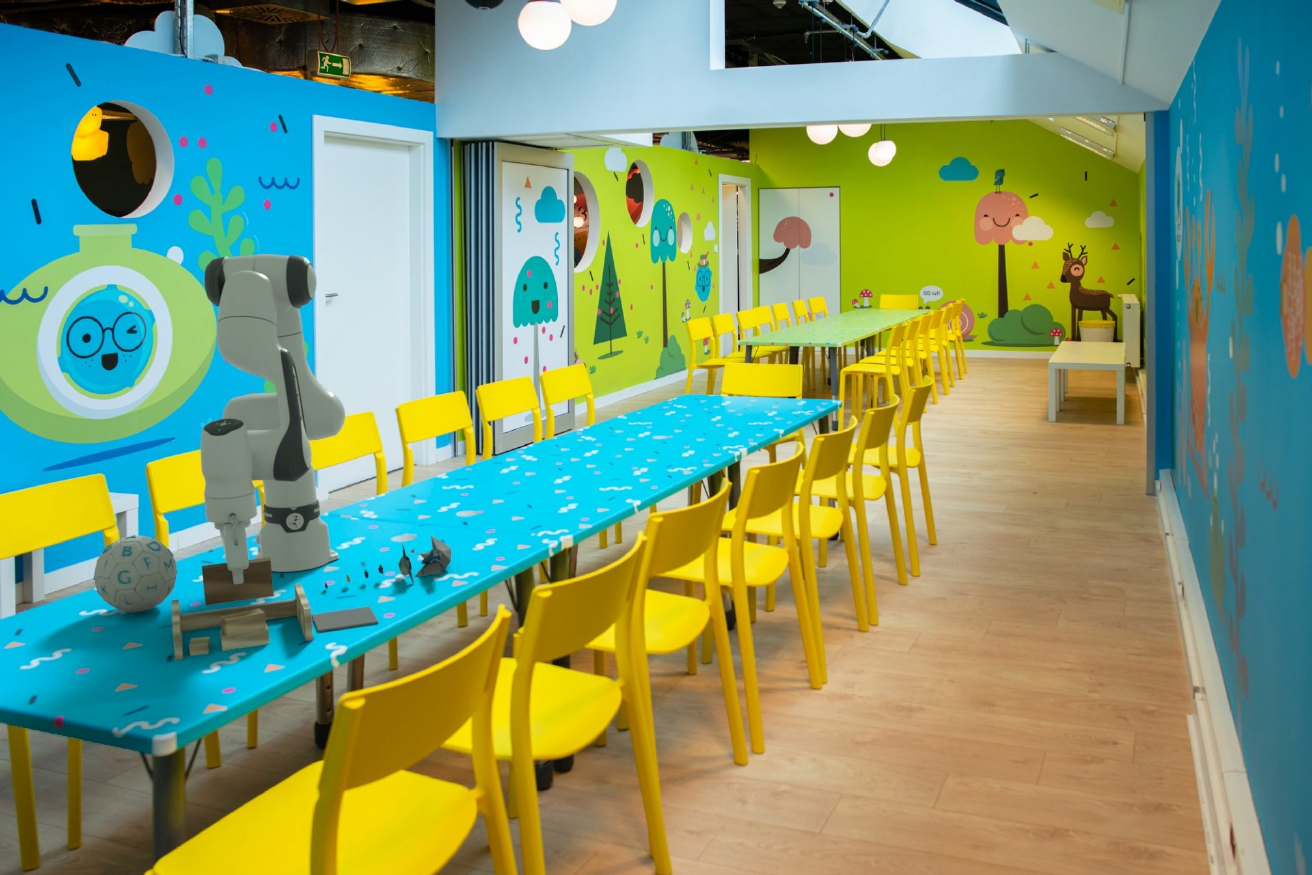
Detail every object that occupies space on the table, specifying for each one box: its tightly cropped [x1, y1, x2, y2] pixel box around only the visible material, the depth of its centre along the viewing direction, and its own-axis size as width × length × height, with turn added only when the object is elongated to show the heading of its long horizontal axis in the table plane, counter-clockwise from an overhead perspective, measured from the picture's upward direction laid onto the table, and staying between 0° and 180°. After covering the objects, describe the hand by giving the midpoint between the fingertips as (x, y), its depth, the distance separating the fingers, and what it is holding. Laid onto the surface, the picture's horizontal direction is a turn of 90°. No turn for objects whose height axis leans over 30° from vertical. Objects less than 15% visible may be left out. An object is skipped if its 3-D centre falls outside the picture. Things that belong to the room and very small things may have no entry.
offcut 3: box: [219, 623, 270, 652], centre depth 207 cm, size 3×8×3 cm, turn 115°
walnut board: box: [201, 557, 275, 606], centre depth 214 cm, size 2×12×7 cm, turn 113°
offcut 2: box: [220, 608, 267, 637], centre depth 207 cm, size 3×7×3 cm, turn 129°
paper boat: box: [409, 535, 452, 577], centre depth 252 cm, size 12×6×9 cm
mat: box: [311, 606, 379, 633], centre depth 220 cm, size 10×11×1 cm
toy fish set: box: [324, 543, 446, 590], centre depth 241 cm, size 11×25×9 cm, turn 122°
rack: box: [171, 583, 314, 661], centre depth 212 cm, size 17×23×6 cm
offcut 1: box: [188, 636, 211, 656], centre depth 205 cm, size 4×3×2 cm
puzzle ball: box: [93, 534, 178, 613], centre depth 227 cm, size 15×15×15 cm
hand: (237, 580), depth 214 cm, fingers closed on walnut board, 2 cm apart
